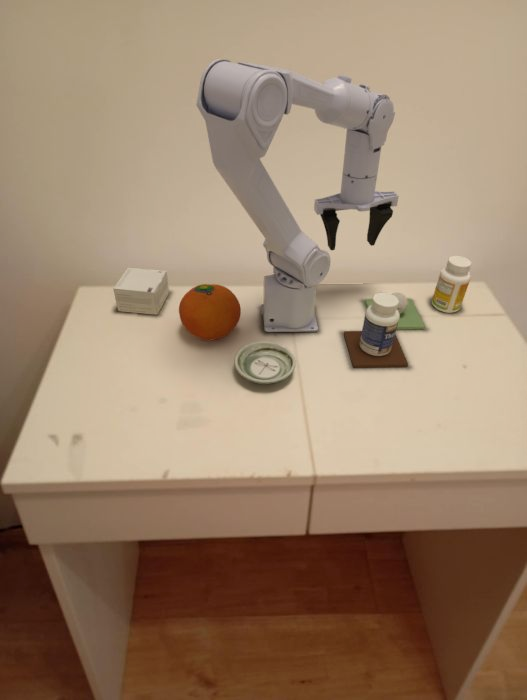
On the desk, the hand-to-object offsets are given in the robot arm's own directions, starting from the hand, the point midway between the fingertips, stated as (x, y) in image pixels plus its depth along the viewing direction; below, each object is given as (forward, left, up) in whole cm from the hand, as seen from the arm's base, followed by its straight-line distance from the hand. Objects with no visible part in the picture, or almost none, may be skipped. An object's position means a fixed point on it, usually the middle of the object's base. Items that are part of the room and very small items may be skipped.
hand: (351, 245), depth 87 cm
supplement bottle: (+19, -5, -11) cm, 22 cm away
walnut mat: (+2, -18, -10) cm, 21 cm away
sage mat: (+8, -8, -10) cm, 15 cm away
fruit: (-26, -12, -11) cm, 30 cm away
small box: (-39, -3, -11) cm, 40 cm away
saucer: (-17, -23, -11) cm, 30 cm away
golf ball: (+8, -8, -10) cm, 15 cm away
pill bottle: (+2, -18, -10) cm, 20 cm away
